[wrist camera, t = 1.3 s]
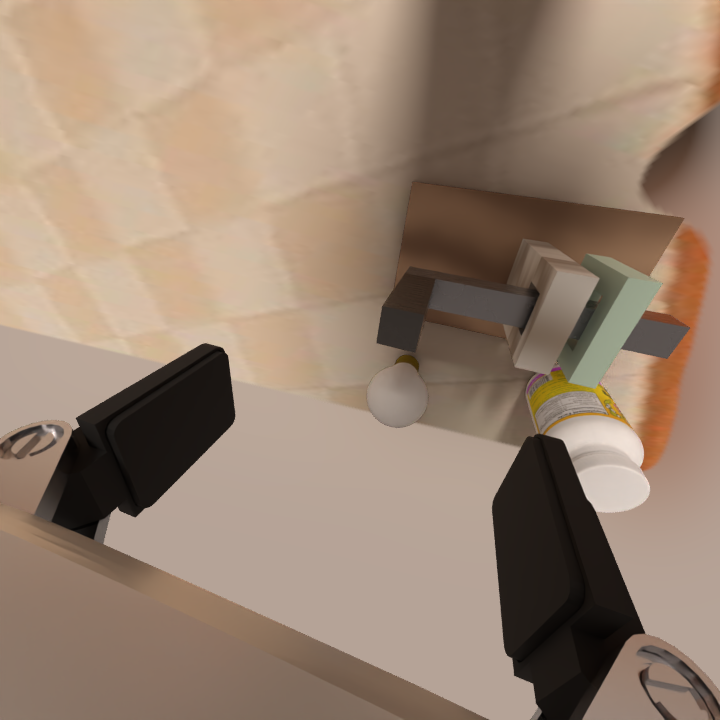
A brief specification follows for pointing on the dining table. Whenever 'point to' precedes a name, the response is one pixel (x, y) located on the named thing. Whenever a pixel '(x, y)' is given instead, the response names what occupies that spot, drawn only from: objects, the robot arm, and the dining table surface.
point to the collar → (607, 319)
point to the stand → (526, 256)
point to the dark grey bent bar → (498, 311)
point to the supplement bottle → (591, 439)
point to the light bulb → (398, 394)
